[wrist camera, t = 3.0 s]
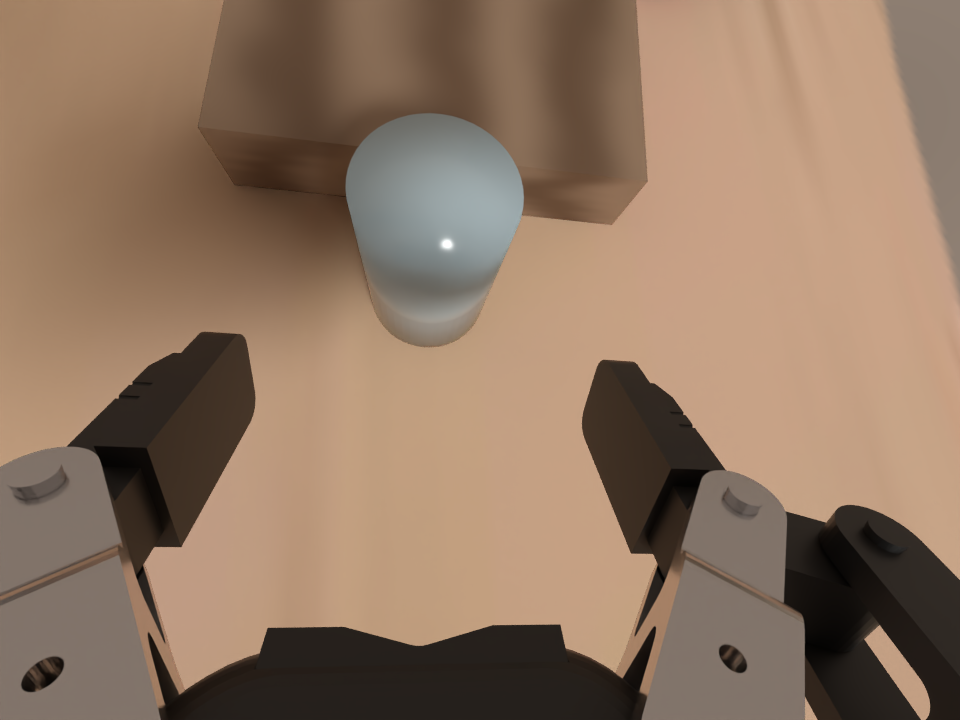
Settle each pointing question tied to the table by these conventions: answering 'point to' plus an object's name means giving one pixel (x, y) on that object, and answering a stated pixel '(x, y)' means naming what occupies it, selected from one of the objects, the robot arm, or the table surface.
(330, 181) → the walnut stand
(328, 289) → the table surface
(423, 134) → the ceramic jar
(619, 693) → the robot arm
